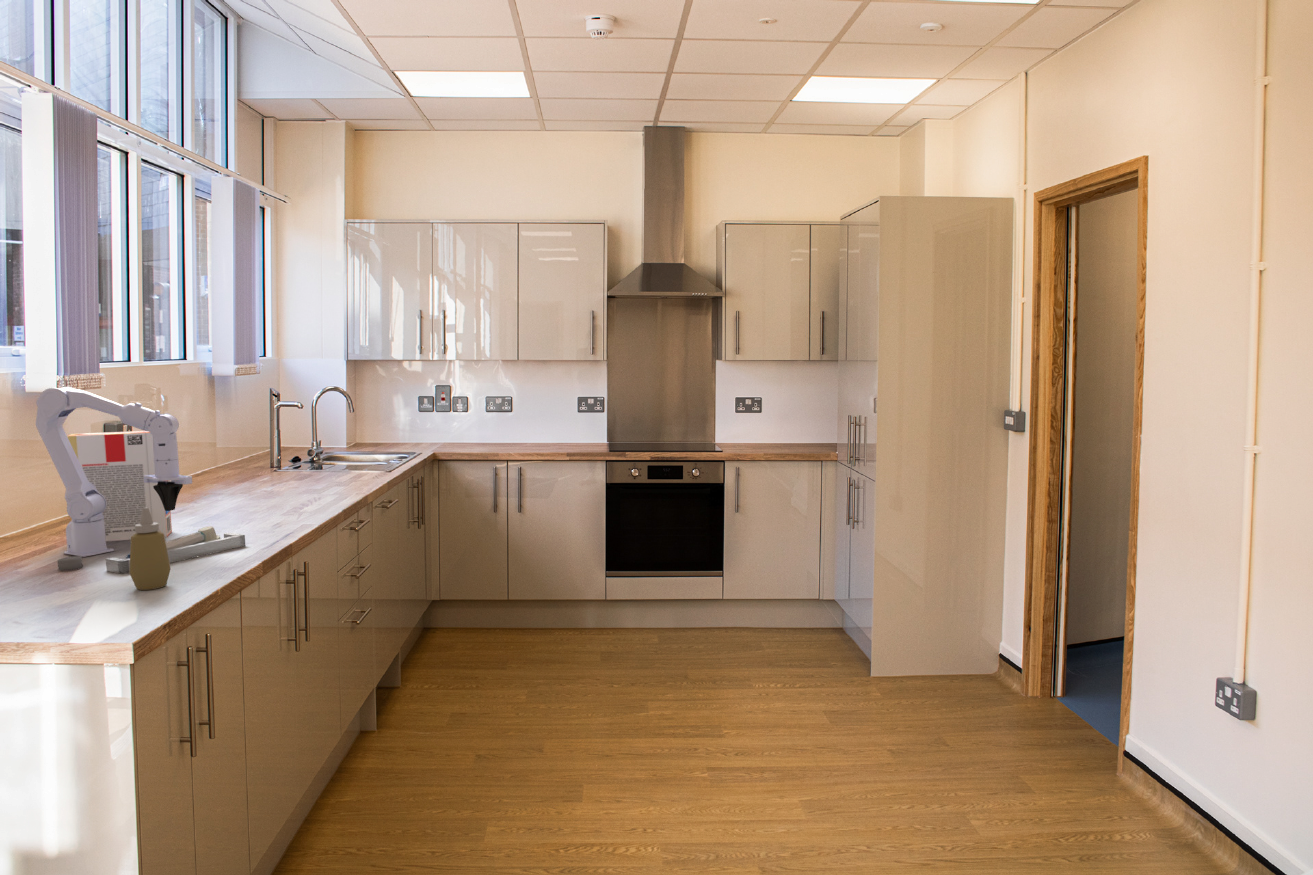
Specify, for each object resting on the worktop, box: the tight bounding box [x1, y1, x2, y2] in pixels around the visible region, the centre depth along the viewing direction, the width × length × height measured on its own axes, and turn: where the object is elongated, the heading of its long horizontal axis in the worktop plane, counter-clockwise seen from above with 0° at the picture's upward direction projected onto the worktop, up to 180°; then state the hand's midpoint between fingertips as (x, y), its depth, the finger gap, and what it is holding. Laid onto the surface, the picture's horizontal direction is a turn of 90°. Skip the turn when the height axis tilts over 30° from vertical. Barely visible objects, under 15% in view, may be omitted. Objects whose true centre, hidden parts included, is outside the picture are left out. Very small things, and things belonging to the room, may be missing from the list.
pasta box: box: [67, 430, 173, 542], centre depth 256 cm, size 23×8×30 cm, turn 109°
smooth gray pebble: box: [57, 555, 84, 572], centre depth 221 cm, size 5×5×2 cm
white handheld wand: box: [124, 525, 221, 559], centre depth 231 cm, size 5×7×25 cm
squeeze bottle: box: [129, 508, 172, 591], centre depth 201 cm, size 8×8×18 cm
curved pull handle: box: [105, 532, 246, 575], centre depth 230 cm, size 7×33×3 cm, turn 151°
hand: (169, 510), depth 241 cm, fingers closed
